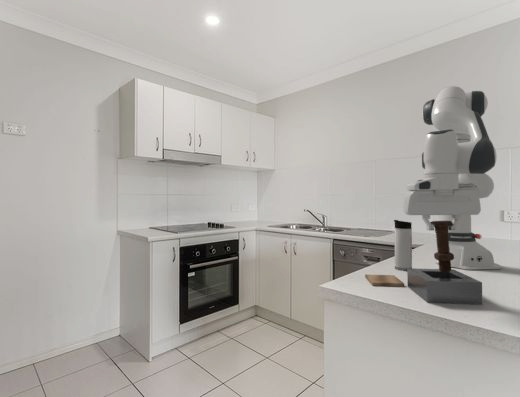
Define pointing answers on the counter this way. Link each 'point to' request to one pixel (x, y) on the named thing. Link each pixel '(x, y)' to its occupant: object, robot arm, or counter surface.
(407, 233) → the travel mug
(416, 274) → the socket block
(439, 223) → the bolt
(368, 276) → the walnut pad
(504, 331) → the counter surface
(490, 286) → the counter surface
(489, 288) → the counter surface
